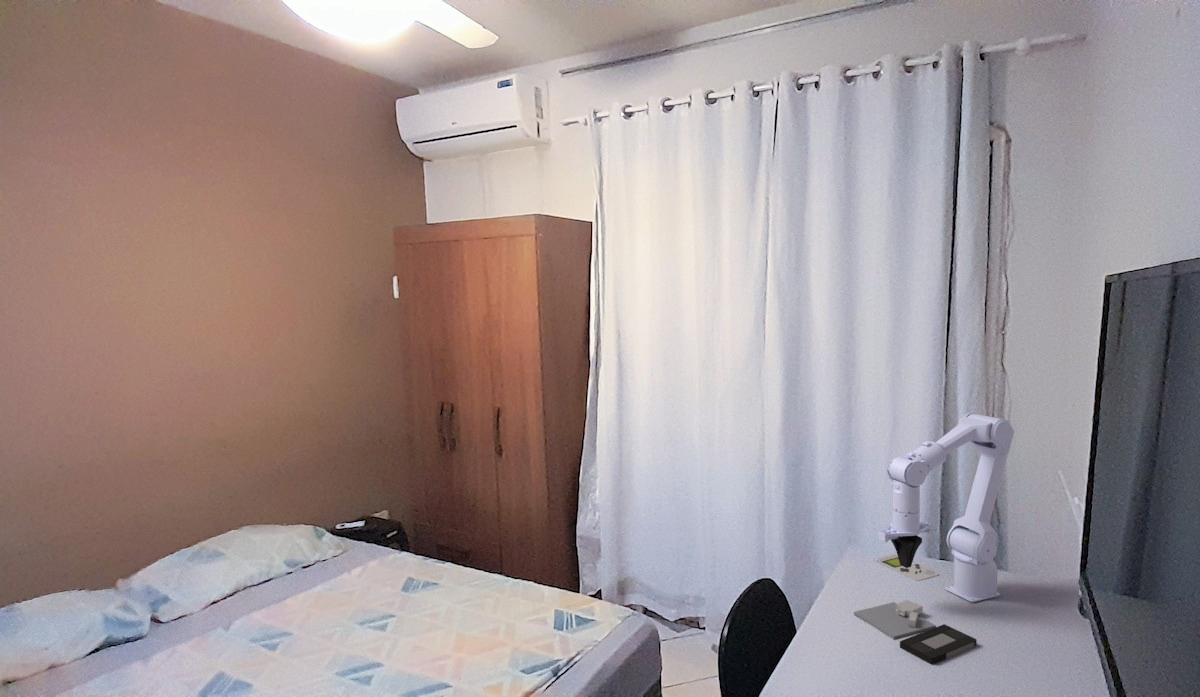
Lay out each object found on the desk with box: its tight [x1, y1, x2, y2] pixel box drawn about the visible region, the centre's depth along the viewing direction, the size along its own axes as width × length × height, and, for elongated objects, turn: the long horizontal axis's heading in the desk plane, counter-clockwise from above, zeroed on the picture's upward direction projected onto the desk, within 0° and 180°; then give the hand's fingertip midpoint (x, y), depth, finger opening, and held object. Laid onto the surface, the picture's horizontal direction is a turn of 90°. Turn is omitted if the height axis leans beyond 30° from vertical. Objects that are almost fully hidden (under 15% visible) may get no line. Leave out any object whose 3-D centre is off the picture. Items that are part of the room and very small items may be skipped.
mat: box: [853, 602, 937, 640], centre depth 151 cm, size 12×12×1 cm
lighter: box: [895, 599, 924, 628], centre depth 151 cm, size 7×2×8 cm
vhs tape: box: [899, 623, 978, 666], centre depth 140 cm, size 8×14×2 cm, turn 117°
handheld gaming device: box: [873, 553, 940, 581], centre depth 179 cm, size 9×1×15 cm
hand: (905, 565), depth 156 cm, fingers closed
